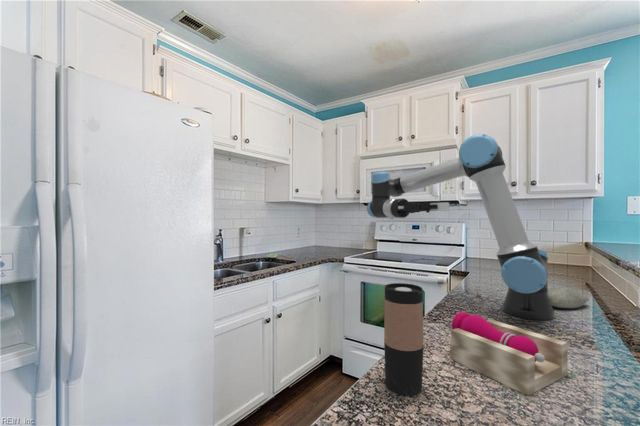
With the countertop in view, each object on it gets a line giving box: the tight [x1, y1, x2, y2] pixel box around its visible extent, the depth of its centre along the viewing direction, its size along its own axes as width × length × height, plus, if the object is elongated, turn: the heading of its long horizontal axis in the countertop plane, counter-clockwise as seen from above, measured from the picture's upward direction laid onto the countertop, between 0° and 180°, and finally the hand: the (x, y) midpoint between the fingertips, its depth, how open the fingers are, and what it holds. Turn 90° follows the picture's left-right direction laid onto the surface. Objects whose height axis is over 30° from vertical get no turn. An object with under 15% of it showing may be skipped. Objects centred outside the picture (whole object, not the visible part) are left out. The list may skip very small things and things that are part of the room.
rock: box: [548, 286, 590, 309], centre depth 117 cm, size 8×11×20 cm
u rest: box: [450, 318, 569, 397], centre depth 69 cm, size 17×16×7 cm
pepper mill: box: [451, 311, 545, 362], centre depth 70 cm, size 7×7×20 cm
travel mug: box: [383, 282, 424, 397], centre depth 61 cm, size 8×8×20 cm
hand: (447, 206), depth 100 cm, fingers closed
